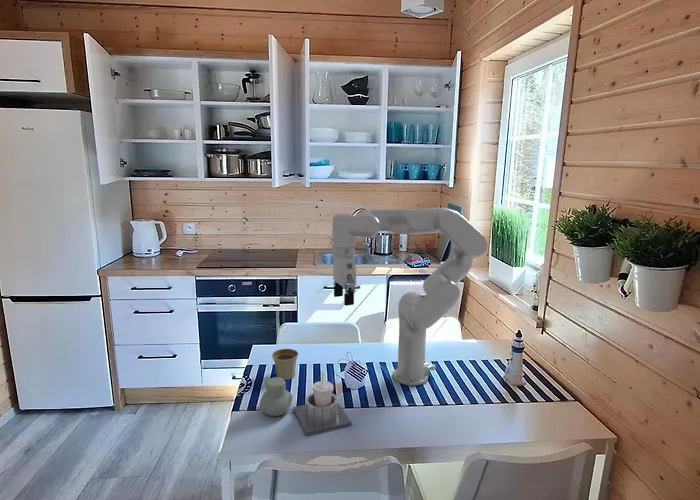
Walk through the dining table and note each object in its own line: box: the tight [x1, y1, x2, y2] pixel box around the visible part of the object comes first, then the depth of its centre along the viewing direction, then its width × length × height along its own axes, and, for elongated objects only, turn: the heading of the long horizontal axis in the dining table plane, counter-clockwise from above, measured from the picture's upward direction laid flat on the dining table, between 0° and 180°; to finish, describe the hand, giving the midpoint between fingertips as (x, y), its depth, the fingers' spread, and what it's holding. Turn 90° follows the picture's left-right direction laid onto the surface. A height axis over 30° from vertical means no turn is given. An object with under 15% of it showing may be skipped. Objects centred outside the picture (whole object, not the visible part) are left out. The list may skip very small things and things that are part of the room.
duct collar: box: [292, 392, 352, 437], centre depth 133 cm, size 14×14×6 cm
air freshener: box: [259, 376, 293, 417], centre depth 136 cm, size 11×8×10 cm
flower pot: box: [271, 348, 299, 381], centre depth 157 cm, size 9×9×9 cm
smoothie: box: [311, 371, 334, 407], centre depth 131 cm, size 6×6×14 cm
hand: (343, 300), depth 148 cm, fingers open, 9 cm apart
